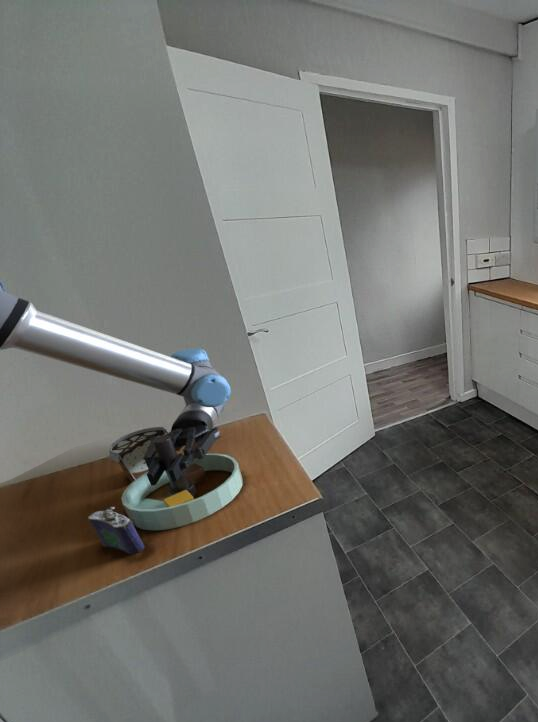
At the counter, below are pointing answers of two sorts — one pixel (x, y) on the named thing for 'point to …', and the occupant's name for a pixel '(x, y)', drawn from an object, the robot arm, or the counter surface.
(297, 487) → the counter surface
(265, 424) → the counter surface
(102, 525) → the flask
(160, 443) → the dark cylinder with base
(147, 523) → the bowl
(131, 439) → the food container
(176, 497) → the mustard block
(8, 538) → the counter surface
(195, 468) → the walnut block
